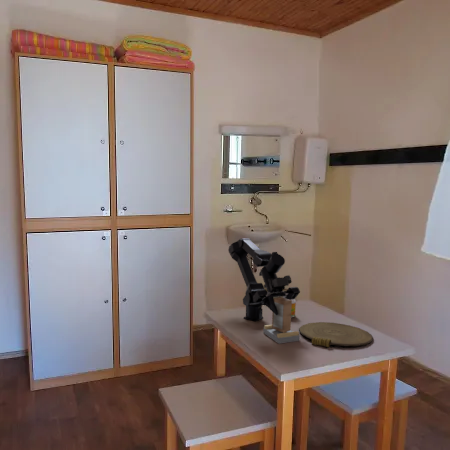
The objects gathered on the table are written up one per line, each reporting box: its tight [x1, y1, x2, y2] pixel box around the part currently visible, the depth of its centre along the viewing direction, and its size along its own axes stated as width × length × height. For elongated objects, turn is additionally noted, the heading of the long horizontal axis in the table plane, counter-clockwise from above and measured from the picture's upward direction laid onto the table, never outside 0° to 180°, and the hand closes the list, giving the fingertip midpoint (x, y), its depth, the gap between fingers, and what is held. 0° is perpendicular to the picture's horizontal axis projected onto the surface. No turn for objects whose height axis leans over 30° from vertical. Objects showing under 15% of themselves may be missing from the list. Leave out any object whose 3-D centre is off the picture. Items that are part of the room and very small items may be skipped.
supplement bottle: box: [291, 298, 297, 318], centre depth 195 cm, size 5×5×10 cm
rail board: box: [262, 324, 300, 344], centre depth 169 cm, size 12×9×3 cm
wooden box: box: [271, 296, 292, 333], centre depth 168 cm, size 6×4×12 cm
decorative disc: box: [298, 321, 374, 348], centre depth 172 cm, size 29×3×30 cm
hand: (283, 314), depth 167 cm, fingers closed on wooden box, 5 cm apart
